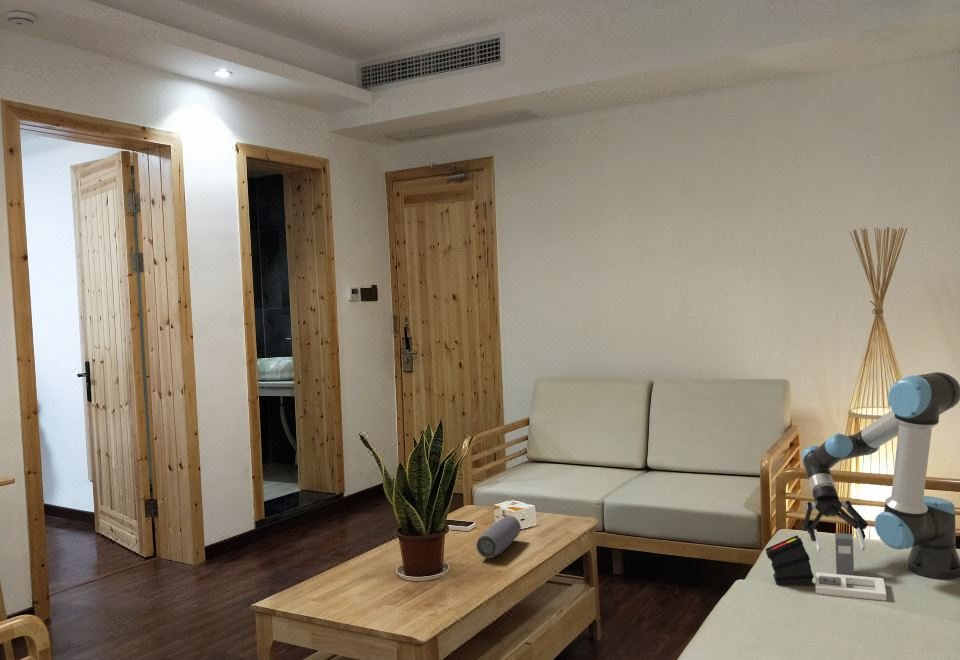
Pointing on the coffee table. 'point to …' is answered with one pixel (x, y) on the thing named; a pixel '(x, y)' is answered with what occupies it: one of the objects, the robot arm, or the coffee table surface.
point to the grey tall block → (844, 554)
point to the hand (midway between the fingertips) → (841, 549)
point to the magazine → (790, 562)
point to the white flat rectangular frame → (837, 587)
